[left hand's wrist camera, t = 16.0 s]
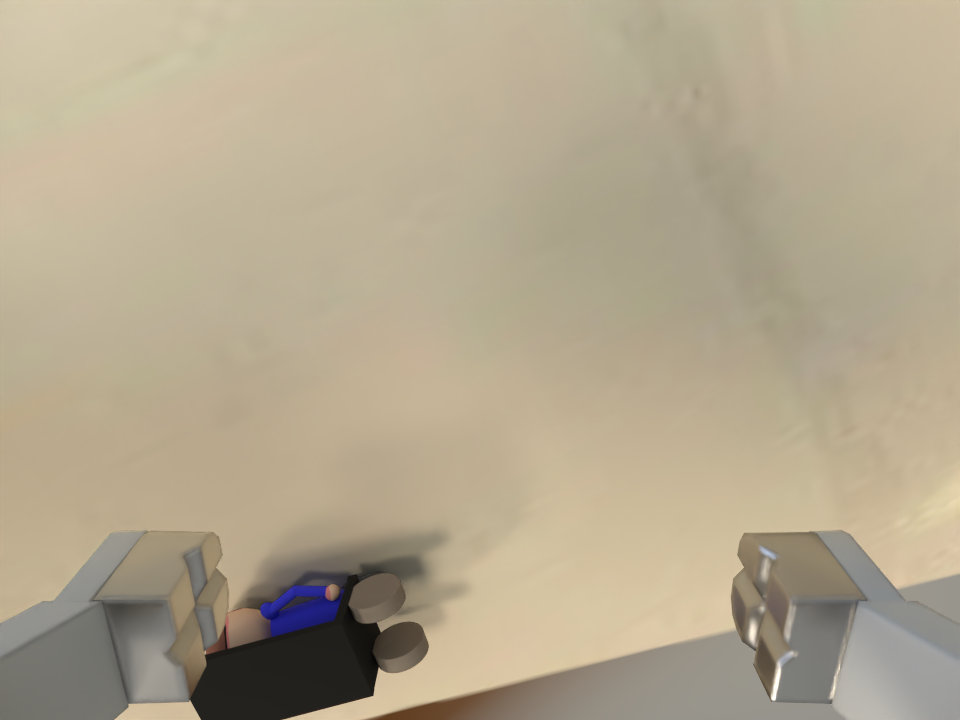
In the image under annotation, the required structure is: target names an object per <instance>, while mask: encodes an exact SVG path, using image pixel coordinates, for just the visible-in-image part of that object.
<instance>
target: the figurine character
mask: <svg viewBox="0 0 960 720" xmlns="http://www.w3.org/2000/svg"><path fill="white" fill-rule="evenodd" d="M342 588H344V590H341V591H340V588H339V587H338V586H337V585H335V584H332V585H329V586H297V585H294V586H293V587H292V588H290V589H289V590H288V591H287V592H285V593H284V594H283V595H282V596H281V597H279V598H278V599H277V600H276V601H274V602H273V603H270V602H266V603H264V604H263V605H262V606H261V608H260V610H257V609H253V608H242V609H237V610H234V611H232V612H230V613H228V614H227V617H226V622H225V626H224V629H223V631H222V633H221V635H220V638H219V640H218V642H216V643H215V644H214V645H212V646H211V647H209V648H208V649H207V650H206V655H205V659H206V664H207V665H206V667H205V669H204V671H203V673H202V675H201V678H200V680H199V682H198V684H197V686H196V688H195V690H194V692H193V694H192V696H191V698H190V701H191V702H192V704H193V706H194V708H195V710H196V711H197V713H198V715H199V717H200V719H201V720H283V719H287V718H291V717H294V716H298V715H302V714H306V713H310V712H313V711H317V710H321V709H325V708H329V707H333V706H336V705H340V704H344V703H348V702H352V701H355V700H359V699H363V698H367V697H371V696H373V694H374V687H375V682H376V677H377V673H378V668H380V669H381V670H383V671H385V672H388V673H398V672H403V671H406V670H408V669H410V668H412V667H414V666H415V665H417V664H418V663H419V662H420V661H421V660H422V659H423V658H424V657H425V655H426V654H427V651H428V648H429V645H428V641H427V639H426V636H425V633H424V631H423V628H422V627H421V626H420V625H419V624H417V623H414V622H402V623H398V624H395V625H393V626H391V627H389V628H387V629H386V630H384V631H383V632H382V633H381V632H380V630H379V627H378V625H377V623H376V622H379V621H381V620H384V619H386V618H388V617H390V616H391V615H393V614H394V613H395V612H397V611H398V610H399V609H400V608H401V606H402V605H403V603H404V601H405V593H404V590H403V587H402V585H401V582H400V580H399V578H398V577H397V576H396V575H394V574H391V573H384V572H378V571H377V572H374V573H371V574H368V575H365V576H362V577H359V578H358V577H357V575H353V576H348V579H347V582H346V583H345V584H344V585H343V586H342ZM296 596H303V597H320V598H317V599H314V600H311V601H308V602H305V603H302V604H299V605H296V606H293V607H290V608H287V609H284V610H281V611H279V610H280V609H281V608H283V607H284V606H285V605H286V604H288V603H289V602H290V601H291V600H293V599H294V598H295V597H296Z"/></svg>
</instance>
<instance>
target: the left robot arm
mask: <svg viewBox="0 0 960 720" xmlns="http://www.w3.org/2000/svg"><path fill="white" fill-rule="evenodd" d="M222 555H223V554H222V549H221V545H220V540H219V537H218V536H217V535H216V534H215V533H214V532H184V531H150V532H149V531H117V532H114V533H111V534H110V535H109V536H108V537H107V538H106V539H105V541H104V542H103V543H102V544H101V545H100V547H99V548H98V549H97V550H96V551H95V552H94V554H93V555H92V556H91V557H90V558H89V560H88V561H87V562H86V563H85V564H84V566H83V567H82V568H81V569H80V570H79V571H78V573H77V574H76V575H75V576H74V577H73V579H72V580H71V581H70V582H69V583H68V584H67V586H66V587H65V588H64V589H63V590H62V592H61V593H60V594H59V595H58V596H57V598H56V599H55V600H54V601H42V602H41V603H39V604H37V605H35V606H33V607H31V608H29V609H27V610H25V611H23V612H22V613H20V614H18V615H16V616H14V617H12V618H10V619H8V620H6V621H4V622H2V623H1V624H0V720H114V719H115V718H116V717H118V716H119V715H120V714H121V713H122V712H123V711H124V710H126V709H127V708H128V704H136V703H170V702H189V700H190V698H191V696H192V694H193V692H194V690H195V688H196V686H197V684H198V682H199V680H200V678H201V675H202V673H203V671H204V669H205V667H206V665H207V664H206V659H205V653H204V651H205V650H207V649H208V648H209V647H211V646H212V645H214V644H215V643H216V642H218V640H219V638H220V635H221V633H222V631H223V629H224V626H225V622H226V617H227V612H228V608H229V590H228V584H227V578H226V577H225V576H224V575H223V574H222V573H221V572H220V571H219V570H218V569H217V568H216V566H217V564H218V563H219V561H220V559H221V557H222ZM737 555H738V557H739V559H740V561H741V563H742V564H743V566H744V568H743V569H742V570H741V571H740V572H739V573H738V574H737V575H736V576H735V577H734V578H733V585H732V593H731V603H732V615H733V618H734V622H735V626H736V629H737V631H738V633H739V635H740V638H741V640H742V642H744V643H745V644H746V645H748V646H749V647H751V648H752V649H753V650H755V651H756V654H755V659H754V664H753V665H754V667H755V669H756V671H757V673H758V675H759V677H760V680H761V682H762V684H763V686H764V688H765V690H766V692H767V694H768V696H769V698H770V700H771V702H788V703H825V704H832V706H831V707H832V708H834V709H835V710H836V711H837V712H838V713H839V714H840V715H842V716H843V717H844V718H845V719H846V720H960V624H959V623H957V622H955V621H954V620H952V619H950V618H948V617H946V616H944V615H942V614H940V613H938V612H936V611H935V610H933V609H931V608H929V607H927V606H925V605H923V604H921V603H919V602H917V601H906V600H905V599H904V598H903V596H902V595H901V594H900V593H899V592H898V590H897V589H896V588H895V587H894V586H893V585H892V583H891V582H890V581H889V580H888V579H887V577H886V576H885V575H884V574H883V573H882V572H881V570H880V569H879V568H878V567H877V566H876V564H875V563H874V562H873V561H872V560H871V559H870V557H869V556H868V555H867V554H866V553H865V551H864V550H863V549H862V548H861V547H860V545H859V544H858V543H857V542H856V541H855V540H854V538H853V537H852V536H851V535H850V534H849V533H847V532H845V531H843V530H835V531H809V532H780V533H744V534H743V536H742V538H741V540H740V543H739V549H738V554H737Z"/></svg>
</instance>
